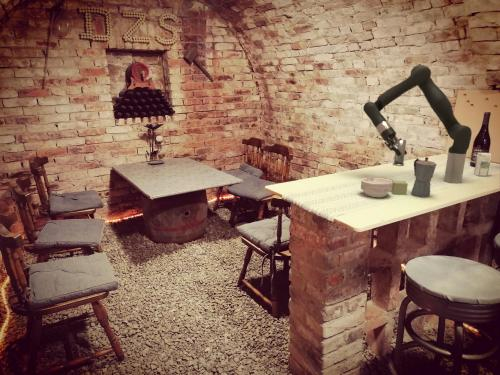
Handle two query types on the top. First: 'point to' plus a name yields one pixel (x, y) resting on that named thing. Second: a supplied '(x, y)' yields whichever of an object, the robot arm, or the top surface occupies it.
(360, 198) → the top surface
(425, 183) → the moka pot
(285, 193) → the top surface
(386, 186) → the paper bowls
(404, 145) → the flanged base cylinder
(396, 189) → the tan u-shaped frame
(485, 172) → the syrup box
